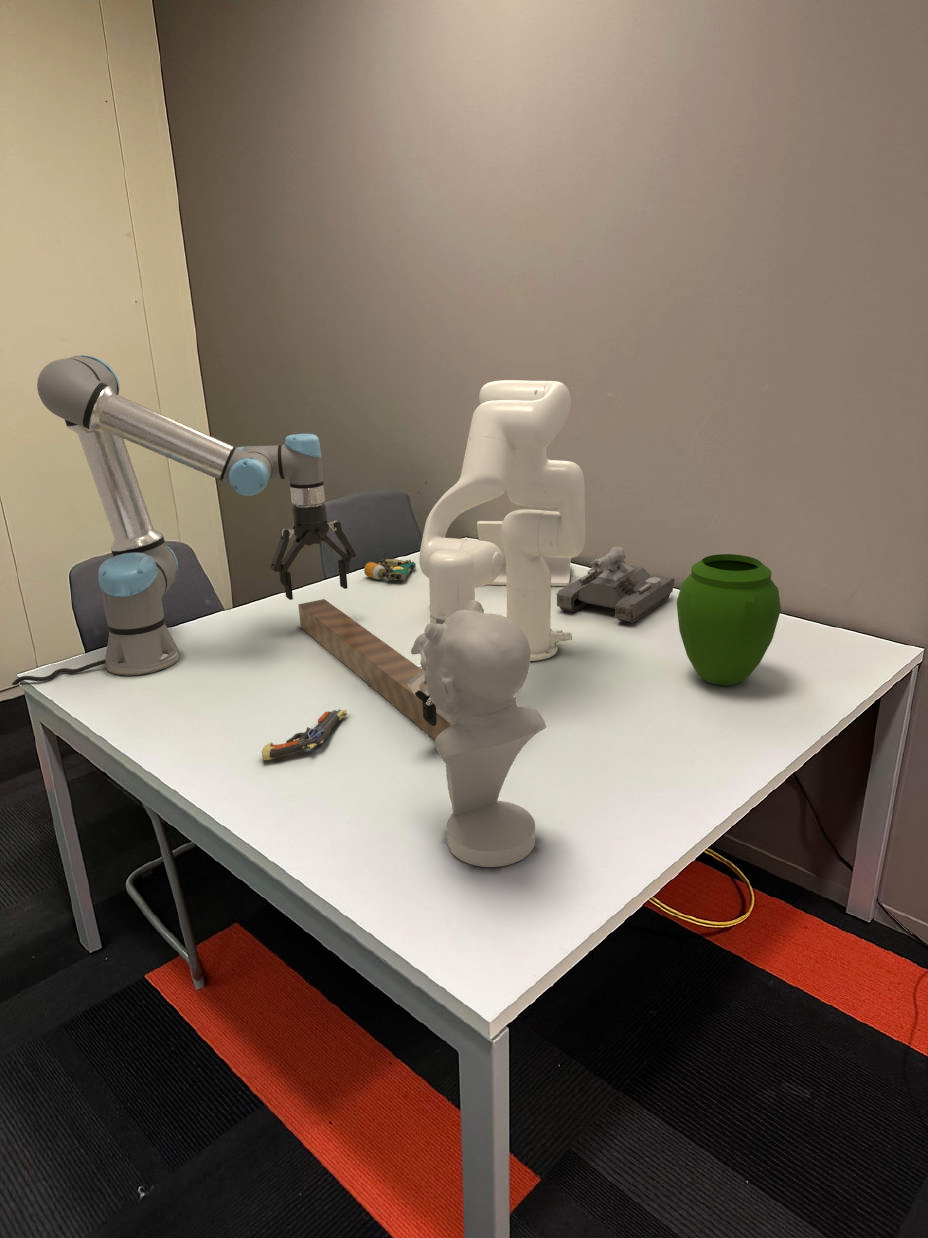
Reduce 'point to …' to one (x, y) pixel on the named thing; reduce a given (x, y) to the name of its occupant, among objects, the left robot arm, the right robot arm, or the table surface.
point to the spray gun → (389, 569)
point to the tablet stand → (493, 534)
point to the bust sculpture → (481, 729)
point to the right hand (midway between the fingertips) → (454, 716)
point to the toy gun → (305, 737)
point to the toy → (616, 588)
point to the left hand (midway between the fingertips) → (317, 592)
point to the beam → (369, 660)
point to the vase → (727, 616)
